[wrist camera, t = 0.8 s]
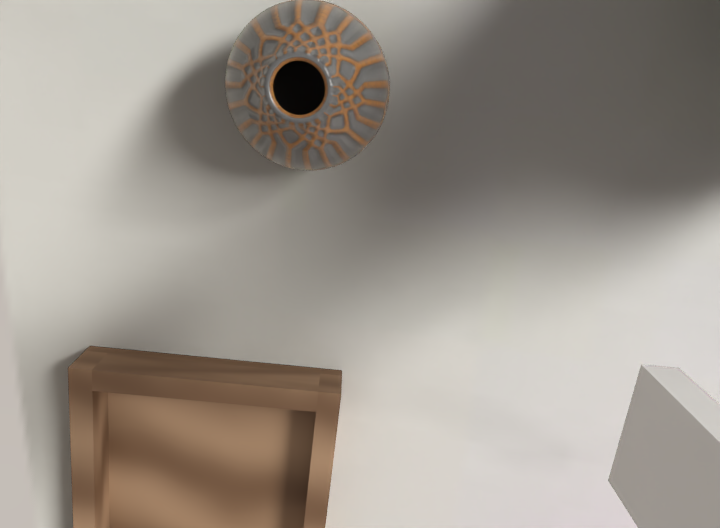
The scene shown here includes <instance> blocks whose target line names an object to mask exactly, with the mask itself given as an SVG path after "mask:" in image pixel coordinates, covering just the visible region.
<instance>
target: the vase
mask: <svg viewBox="0 0 720 528" xmlns="http://www.w3.org/2000/svg"><path fill="white" fill-rule="evenodd" d="M225 90H226V98H227V103H228V107H229V110H230V113H231V116H232V118H233V120H234V122H235V124H236V126H237V128H238V130H239V131H240V133H241V134H242V136H243V137H244V138H245V139H246V141H247V142H248V143H249V144H250V145H251V146H252V147H253V148H254V149H255V150H256V151H257V152H259V153H260V154H261V155H263V156H264V157H266V158H267V159H269V160H271V161H273V162H275V163H277V164H279V165H282V166H285V167H288V168H292V169H297V170H322V169H327V168H331V167H335V166H337V165H340V164H342V163H344V162H346V161H348V160H350V159H351V158H353V157H354V156H356V155H357V154H358V153H360V152H361V151H362V150H363V149H364V148H365V147H366V146H367V145H368V144H369V143H370V142H371V140H372V139H373V138H374V136H375V135H376V133H377V132H378V130H379V128H380V126H381V124H382V122H383V120H384V117H385V114H386V111H387V107H388V102H389V93H390V81H389V72H388V67H387V63H386V60H385V57H384V54H383V52H382V49H381V47H380V45H379V43H378V42H377V40H376V38H375V37H374V35H373V34H372V33H371V31H370V30H369V29H368V28H367V27H366V26H365V25H364V24H363V23H362V22H361V21H360V20H359V19H358V18H357V17H356V16H354V15H353V14H351V13H350V12H348V11H347V10H345V9H343V8H341V7H339V6H337V5H334V4H332V3H328V2H325V1H320V0H291V1H286V2H283V3H279V4H277V5H274V6H272V7H270V8H268V9H266V10H265V11H263V12H261V13H260V14H259V15H257V16H256V17H255V18H254V19H252V20H251V21H250V22H249V23H248V24H247V25H246V27H245V28H244V29H243V30H242V32H241V33H240V35H239V36H238V38H237V39H236V41H235V43H234V45H233V47H232V50H231V52H230V55H229V59H228V62H227V67H226V75H225Z"/></svg>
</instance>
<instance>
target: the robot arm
mask: <svg viewBox="0 0 720 528" xmlns="http://www.w3.org/2000/svg"><path fill="white" fill-rule="evenodd" d="M608 481H609V483H610V484H611V486H612V487H613V489H614V490H615V492H616V494H617V495H618V497H619V498H620V500H621V501H622V503H623V505H624V506H625V508H626V509H627V511H628V512H629V514H630V516H631V517H632V519H633V520H634V522H635V523H636V525H637V527H638V528H720V404H719V403H718V402H717V401H716V400H714V399H713V398H712V397H711V396H710V395H709V394H708V393H707V392H705V391H704V390H703V389H702V388H701V387H700V386H699V385H698V384H696V383H695V382H694V381H693V380H692V379H691V378H690V377H689V376H687V375H686V374H685V373H684V372H683V371H682V370H681V369H680V368H674V367H663V366H652V365H641V367H640V371H639V374H638V378H637V381H636V385H635V388H634V392H633V395H632V399H631V402H630V406H629V409H628V413H627V416H626V420H625V423H624V427H623V430H622V434H621V437H620V441H619V444H618V448H617V451H616V455H615V458H614V462H613V465H612V469H611V472H610V476H609V479H608Z"/></svg>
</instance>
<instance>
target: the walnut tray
mask: <svg viewBox="0 0 720 528" xmlns="http://www.w3.org/2000/svg"><path fill="white" fill-rule="evenodd" d="M341 383H342V371H341V370H331V369H321V368H310V367H300V366H290V365H280V364H269V363H259V362H249V361H239V360H228V359H218V358H208V357H198V356H188V355H177V354H167V353H157V352H147V351H136V350H126V349H116V348H106V347H95V346H90V347H89V348H87V349H86V350H85V351H84V352H83V353H82V354H81V355H80V356H79V357H78V358H77V359H76V360H75V361H74V362H73V363H72V364H71V365H70V366H69V367H68V385H69V415H70V445H71V475H72V505H73V528H325V524H326V515H327V507H328V499H329V491H330V482H331V474H332V466H333V458H334V449H335V441H336V433H337V425H338V416H339V408H340V400H341Z"/></svg>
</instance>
